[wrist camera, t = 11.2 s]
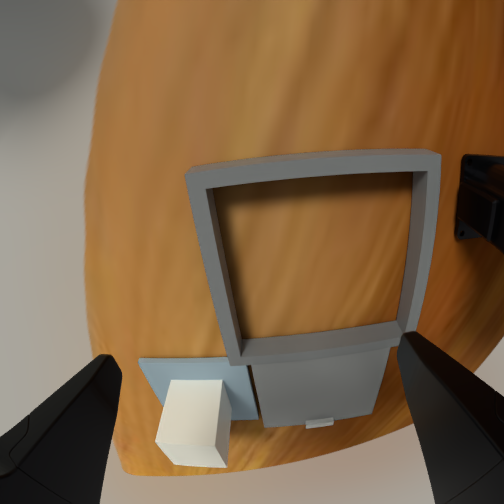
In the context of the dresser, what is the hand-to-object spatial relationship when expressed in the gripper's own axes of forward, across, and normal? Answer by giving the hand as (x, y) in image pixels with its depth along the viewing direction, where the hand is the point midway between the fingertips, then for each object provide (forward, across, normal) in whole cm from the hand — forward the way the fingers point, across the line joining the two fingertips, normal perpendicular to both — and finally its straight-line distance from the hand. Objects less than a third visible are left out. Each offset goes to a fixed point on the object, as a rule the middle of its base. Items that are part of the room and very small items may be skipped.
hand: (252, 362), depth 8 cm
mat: (+12, +8, +18) cm, 23 cm away
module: (+11, +7, +17) cm, 22 cm away
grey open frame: (+12, -4, +10) cm, 16 cm away
